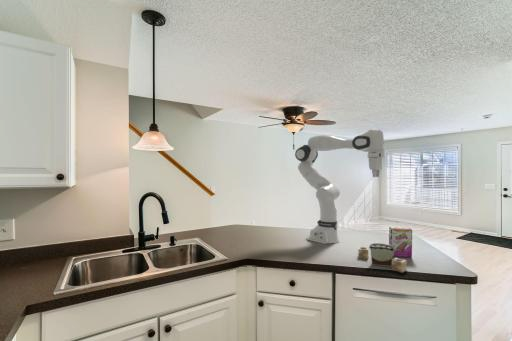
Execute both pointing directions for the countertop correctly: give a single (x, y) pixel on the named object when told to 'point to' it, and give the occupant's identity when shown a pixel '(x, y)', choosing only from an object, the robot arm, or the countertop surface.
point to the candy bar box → (401, 241)
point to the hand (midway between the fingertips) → (376, 177)
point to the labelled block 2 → (399, 265)
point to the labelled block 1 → (363, 252)
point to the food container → (381, 254)
